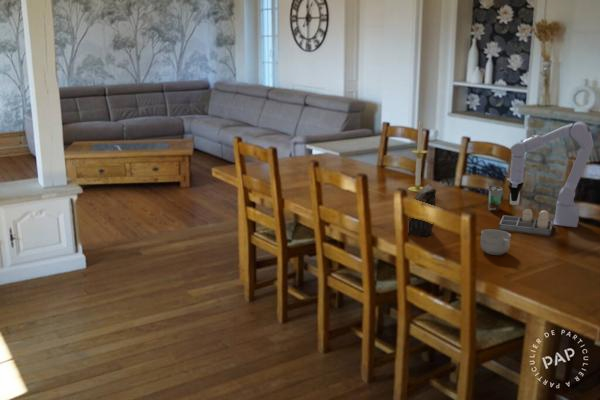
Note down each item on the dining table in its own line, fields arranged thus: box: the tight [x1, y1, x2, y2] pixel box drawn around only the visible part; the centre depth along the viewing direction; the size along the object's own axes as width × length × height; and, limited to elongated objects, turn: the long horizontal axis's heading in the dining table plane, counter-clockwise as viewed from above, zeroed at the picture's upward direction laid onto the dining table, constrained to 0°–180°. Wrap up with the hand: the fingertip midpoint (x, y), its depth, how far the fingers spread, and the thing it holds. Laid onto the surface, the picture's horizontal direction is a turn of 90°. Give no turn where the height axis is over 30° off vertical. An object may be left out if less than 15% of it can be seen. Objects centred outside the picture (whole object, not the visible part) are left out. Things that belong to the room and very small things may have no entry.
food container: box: [487, 184, 504, 212], centre depth 295 cm, size 12×6×10 cm, turn 168°
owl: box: [408, 183, 437, 239], centre depth 261 cm, size 13×13×20 cm
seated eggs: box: [521, 208, 550, 229], centre depth 267 cm, size 11×11×7 cm
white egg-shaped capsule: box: [509, 190, 521, 206], centre depth 281 cm, size 4×4×7 cm
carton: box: [498, 215, 554, 237], centre depth 269 cm, size 20×14×2 cm
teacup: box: [480, 228, 512, 256], centre depth 239 cm, size 14×11×8 cm
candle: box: [407, 118, 429, 193], centre depth 326 cm, size 10×10×38 cm
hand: (514, 199), depth 281 cm, fingers closed on white egg-shaped capsule, 4 cm apart
